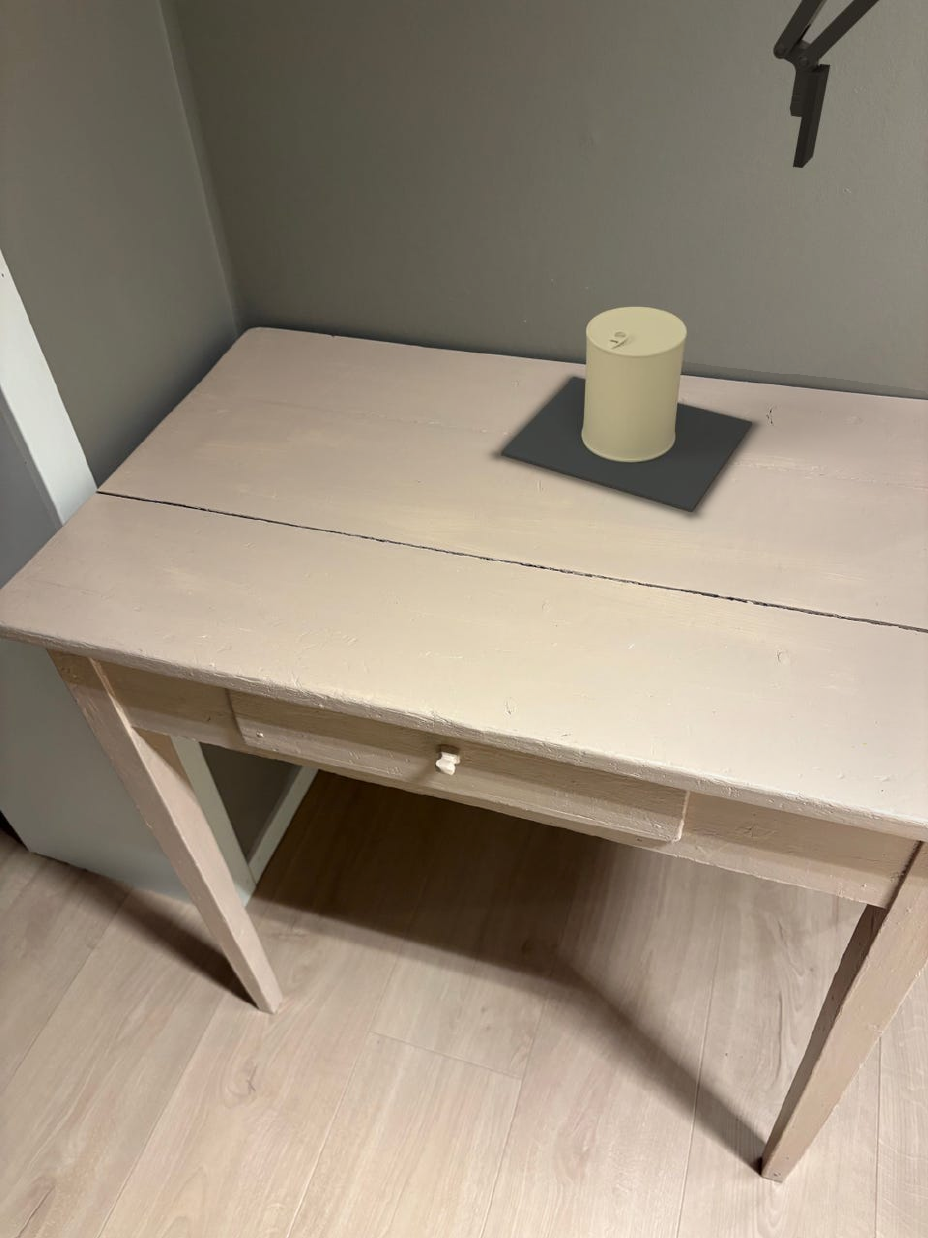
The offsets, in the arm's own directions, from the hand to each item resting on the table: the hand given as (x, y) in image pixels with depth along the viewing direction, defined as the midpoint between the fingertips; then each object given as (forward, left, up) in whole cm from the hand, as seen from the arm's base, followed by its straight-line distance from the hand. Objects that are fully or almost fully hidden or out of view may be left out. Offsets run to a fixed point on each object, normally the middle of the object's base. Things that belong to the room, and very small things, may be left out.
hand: (892, 174), depth 72 cm
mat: (+18, +4, -27) cm, 32 cm away
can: (+18, +4, -26) cm, 32 cm away
